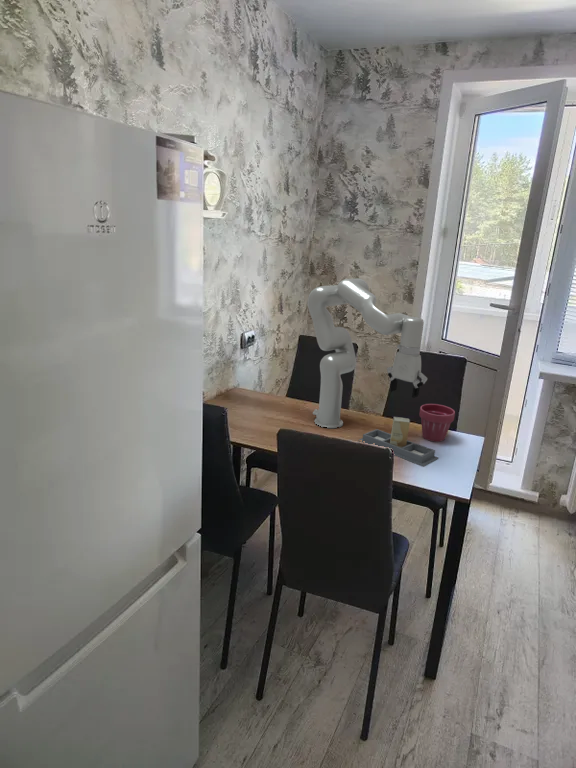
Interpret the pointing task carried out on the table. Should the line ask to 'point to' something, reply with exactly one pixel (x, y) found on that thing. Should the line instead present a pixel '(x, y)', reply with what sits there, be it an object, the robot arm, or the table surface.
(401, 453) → the three-slot frame tray
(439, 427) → the plant pot
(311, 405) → the table surface
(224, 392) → the table surface
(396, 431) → the skincare box
